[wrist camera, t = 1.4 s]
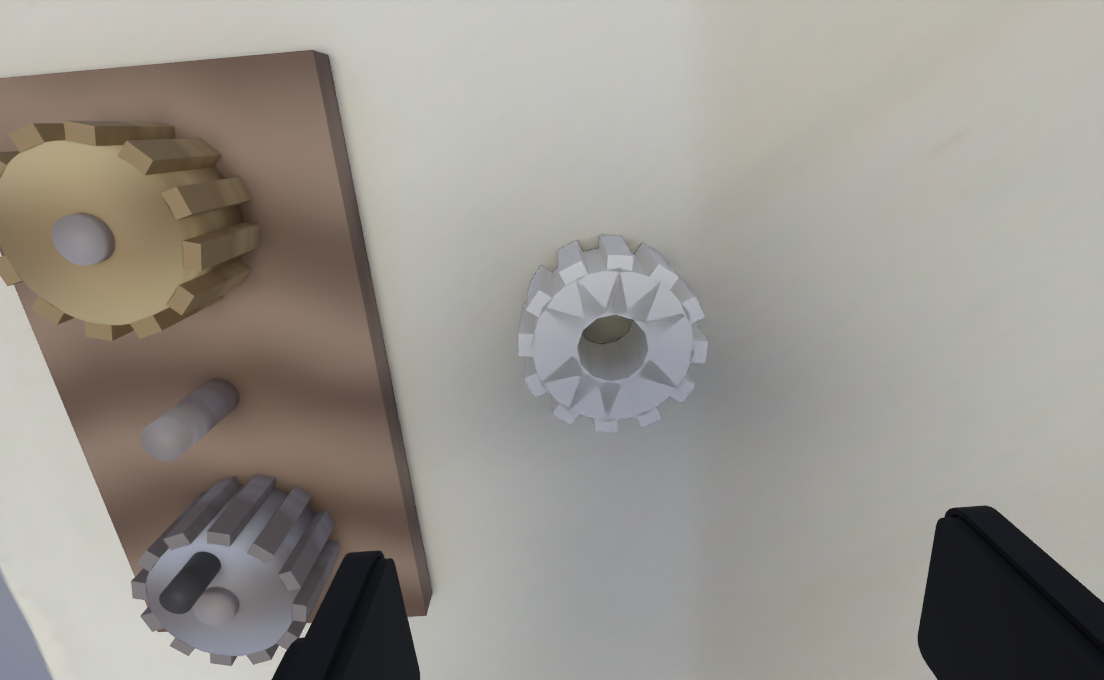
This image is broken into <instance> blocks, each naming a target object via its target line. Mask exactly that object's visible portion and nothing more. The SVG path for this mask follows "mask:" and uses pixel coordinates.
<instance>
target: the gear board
mask: <svg viewBox="0 0 1104 680" xmlns="http://www.w3.org/2000/svg"><path fill="white" fill-rule="evenodd" d="M0 252H1V255H2V257H0V276H1V277H2V279H3V280H4V281H5V283H6V284H7V286H10V285H13V284H14V286H15V288H16V291H17V293H18V296H19V298H20V300H21V303H22V305H23V308H24V310H25V313H26V315H27V317H28V320H29V322H30V325H31V327H32V329H33V332H34V334H35V337H36V339H37V341H38V344H39V346H40V349H41V351H42V354H43V356H44V358H45V361H46V363H47V366H48V368H49V370H50V373H51V375H52V378H53V380H54V383H55V385H56V387H57V390H58V392H59V395H60V397H61V399H62V402H63V404H64V407H65V409H66V411H67V414H68V416H69V419H70V421H71V424H72V426H73V428H74V431H75V433H76V436H77V438H78V440H79V443H80V445H81V448H82V450H83V453H84V455H85V457H86V460H87V462H88V465H89V467H90V469H91V472H92V474H93V477H94V479H95V481H96V484H97V486H98V489H99V491H100V494H101V496H102V498H103V501H104V503H105V506H106V508H107V510H108V513H109V515H110V518H111V520H112V523H113V525H114V527H115V530H116V532H117V535H118V537H119V539H120V542H121V544H122V547H123V549H124V551H125V554H126V556H127V559H128V561H129V564H130V566H131V568H132V571H133V573H134V576H135V578H134V579H133V580H132V581H131V584H132V595H133V598H135V599H142V600H145V602H146V605H147V607H148V608H147V609H146V610H145V611H144V612H143V614H142V615H141V618H142V619H143V620H144V622H145V623H146V624H147V625H148V627H149V628H150V629H151V631H152V632H153V631H156V630H157V631H158V632H169V633H170V634H171V635H173V636H174V637H175V639H174V640H173V642H172V643H171V644H170V646H171V647H173V648H175V649H176V650H178V651H180V652H182V653H184V654H186V655H188V656H189V655H190V653H191V652H192V651H193V650H194V649H195V648H196V649H198V650H201V651H204V652H208V653H210V663H213V664H221V665H228V666H232V664H233V663H234V661H235V659H236V657H237V656H243V655H247V657H248V658H249V659H250V661H251V662H252V664H253V665H254V664H257V663H261V662H264V661H268V660H271V659H272V658H273V656H274V654H275V652H276V650H277V648H278V646H279V645H280V646H282V647H283V648H285V649H288V648H289V646H290V645H291V643H292V642H293V641H295V640H296V639H297V638H299V637H300V635H301V633H302V631H303V629H304V627H305V625H306V623H312V622H313V620H314V617H315V615H316V613H317V611H318V609H319V607H320V605H321V603H322V601H323V599H324V597H325V595H326V593H327V591H328V589H329V587H330V585H331V582H332V580H333V578H334V576H335V574H336V572H337V570H338V568H339V566H340V564H341V562H342V560H343V558H344V557H345V555H346V554H347V553H350V552H363V551H377V550H379V551H382V553H383V554H384V557H385V559H387V558H392V559H393V560H394V562H395V566H396V570H397V575H398V579H399V583H400V588H401V592H402V596H403V601H404V605H405V609H406V614H407V617H412V616H426V615H427V611H428V607H429V604H430V600H431V596H432V590H431V585H430V580H429V574H428V569H427V564H426V559H425V554H424V549H423V543H422V538H421V533H420V528H419V523H418V518H417V512H416V507H415V502H414V497H413V492H412V487H411V481H410V476H409V471H408V466H407V461H406V456H405V450H404V445H403V440H402V435H401V430H400V424H399V419H398V414H397V409H396V404H395V399H394V393H393V388H392V383H391V378H390V373H389V368H388V362H387V357H386V352H385V347H384V342H383V337H382V331H381V326H380V321H379V316H378V311H377V306H376V300H375V295H374V290H373V285H372V280H371V275H370V269H369V264H368V259H367V254H366V249H365V243H364V238H363V233H362V228H361V223H360V218H359V212H358V207H357V202H356V197H355V192H354V187H353V181H352V176H351V171H350V166H349V161H348V156H347V150H346V145H345V140H344V135H343V130H342V125H341V119H340V114H339V109H338V104H337V99H336V93H335V88H334V83H333V78H332V73H331V68H330V62H329V57H328V55H327V54H324V53H320V52H317V51H314V50H307V51H296V52H285V53H274V54H263V55H252V56H241V57H230V58H219V59H208V60H197V61H186V62H175V63H164V64H153V65H142V66H131V67H120V68H109V69H98V70H87V71H76V72H65V73H53V74H42V75H31V76H20V77H9V78H0Z"/></svg>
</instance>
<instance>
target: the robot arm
mask: <svg viewBox="0 0 1104 680" xmlns="http://www.w3.org/2000/svg"><path fill="white" fill-rule="evenodd" d="M918 645H919V649H920V652H921V654H922V657H923V659H924V660H925V662H926V663H927V665H928V666H929V668H930V669H931V671H932V672H933V673H934V675H935V676H936V678H937V679H938V680H1104V603H1103V602H1102V601H1101V600H1100V599H1099V598H1097V597H1096V596H1095V595H1094V594H1093V593H1092V592H1091V591H1089V590H1088V589H1087V588H1086V587H1085V586H1084V585H1082V584H1081V583H1080V582H1079V581H1078V580H1077V579H1075V578H1074V577H1073V576H1072V575H1071V574H1070V573H1069V572H1067V571H1066V570H1065V569H1064V568H1063V567H1062V566H1060V565H1059V564H1058V563H1057V562H1056V561H1055V560H1054V559H1052V558H1051V557H1050V556H1049V555H1048V554H1047V553H1045V552H1044V551H1043V550H1042V549H1041V548H1040V547H1038V546H1037V545H1036V544H1035V543H1034V542H1033V541H1032V540H1030V539H1029V538H1028V537H1027V536H1026V535H1025V534H1023V533H1022V532H1021V531H1020V530H1019V529H1018V528H1016V527H1015V526H1014V525H1013V524H1012V523H1011V522H1010V521H1008V520H1007V519H1006V518H1005V517H1004V516H1003V515H1001V514H1000V513H999V512H998V511H997V510H995V509H994V508H992V507H990V506H973V507H959V508H952V509H949V510H948V511H947V512H946V514H945V517H944V518H940V519H939V520H938V522H937V525H936V530H935V536H934V542H933V548H932V554H931V560H930V566H929V572H928V578H927V584H926V590H925V596H924V602H923V608H922V614H921V619H920V625H919V631H918ZM272 680H420V671H419V666H418V661H417V657H416V653H415V648H414V644H413V640H412V635H411V631H410V627H409V622H408V618H407V614H406V609H405V605H404V601H403V596H402V592H401V588H400V583H399V579H398V575H397V570H396V566H395V562H394V560H393V559H392V558H387V559H385V557H384V554H383V553H382V551H379V550H377V551H363V552H350V553H347V554H346V555H345V557H344V558H343V560H342V562H341V564H340V566H339V568H338V570H337V572H336V574H335V576H334V578H333V580H332V582H331V585H330V587H329V589H328V591H327V593H326V595H325V597H324V599H323V601H322V603H321V605H320V607H319V609H318V611H317V613H316V615H315V617H314V620H313V622H312V624H311V626H310V628H309V630H308V632H307V634H306V636H305V638H297V639H296V640H295V641H293V642H292V643H291V645H290V646H289V648H288V649H287V651H286V652H285V654H284V656H283V658H282V660H281V662H280V664H279V666H278V668H277V670H276V672H275V674H274V676H273V678H272Z"/></svg>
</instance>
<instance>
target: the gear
mask: <svg viewBox="0 0 1104 680" xmlns="http://www.w3.org/2000/svg"><path fill="white" fill-rule="evenodd" d="M611 315H619V316H622V317H625V318H629V319H632V320H633V322H632V325H631V328H630V330H629V332H628V333H627V334H625V335H624V336H623V337H622V338H621V339H619V340H618V341H617V342H612V343H607V344H598V343H595V342H592V341H588V340H586V339H585V337H584V336H583V335H582V332H583V330H584V329H585V328H587V327H588V326H589V325H590V324H591V323H592V322H594V321H595V320H596V319H597V318H602V317H607V316H611ZM702 318H705V316H704V313H703V311H702V309H701V307H700V305H699V302H698V300H697V298H696V296H695V295H694V294H693V292H692V291H691V290H690V289H689V288H688V287H687V285H686V284H685V283H684V282H683V281H682V279H681V278H680V277H679V276H678V275H677V273H676V272H675V271H674V270H673V269H672V268H671V267H670V266H669V264H668V263H667V262H666V261H665V260H664V258H663V257H662V256H661V255H660V254H659V253H657V252H656V251H654V250H653V249H651V248H650V247H648V246H647V245H645V244H644V243H642V244H641V246H640V247H639V249H638V250H637V251H636V253H635V254H633V253H631V251H630V250H629V248H628V247H627V245H626V243H625V242H624V240H623V238H622V237H621V236H612V235H599V248H598V249H593V250H589V251H584V252H583V251H582V249H581V247H580V245H579V243H578V241H577V240H576V241H574V242H572V243H570V244H568V245H566V246H564V247H562V248H560V249H558V267H557V268H556V269H555V270H554V271H553V272H551V271H550V270H548V269H547V268H545V267H543V266H542V265H541V266H540V268H539V269H538V271H537V272H536V274H535V275H534V277H533V278H532V280H531V282H530V286H529V293H528V300H527V303H524V304H523V310H522V316H521V322H520V328H519V337H518V356H527V358H526V366H525V375H524V380H525V381H526V383H527V385H528V387H529V388H530V390H531V392H532V393H533V395H534V397H535V398H536V397H538V396H540V395H542V394H544V393H546V392H549V393H550V394H551V395H552V415H554V416H556V417H558V418H560V419H561V420H563V421H565V422H567V423H568V424H570V425H572V424H573V422H574V421H575V419H576V418H577V417H578V415H583V416H587V417H590V418H593V424H594V432H616V433H617V428H618V420H620V419H625V418H630V417H636V419H637V421H638V423H639V425H640V426H641V428H642V427H644V426H646V425H649V424H651V423H653V422H655V421H658V420H660V419H662V417H661V414H660V412H659V409H658V405H659V404H661V403H662V402H663V401H665V400H666V399H667V398H668V397H672V398H673V399H675V400H677V401H678V402H680V403H682V402H683V401H684V400H685V398H686V397H687V396H688V395H689V393H690V392H691V391H692V390H693V388H694V387H695V384H694V382H693V380H692V378H691V376H690V375H689V373H688V371H687V370H688V368H689V365H690V363H705V362H706V355H707V348H708V340H707V338H706V337H705V336H704V334H703V333H702V332H701V330H700V329H699V327H698V326H697V325H696V323H695V322H696V321H698V320H700V319H702Z"/></svg>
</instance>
